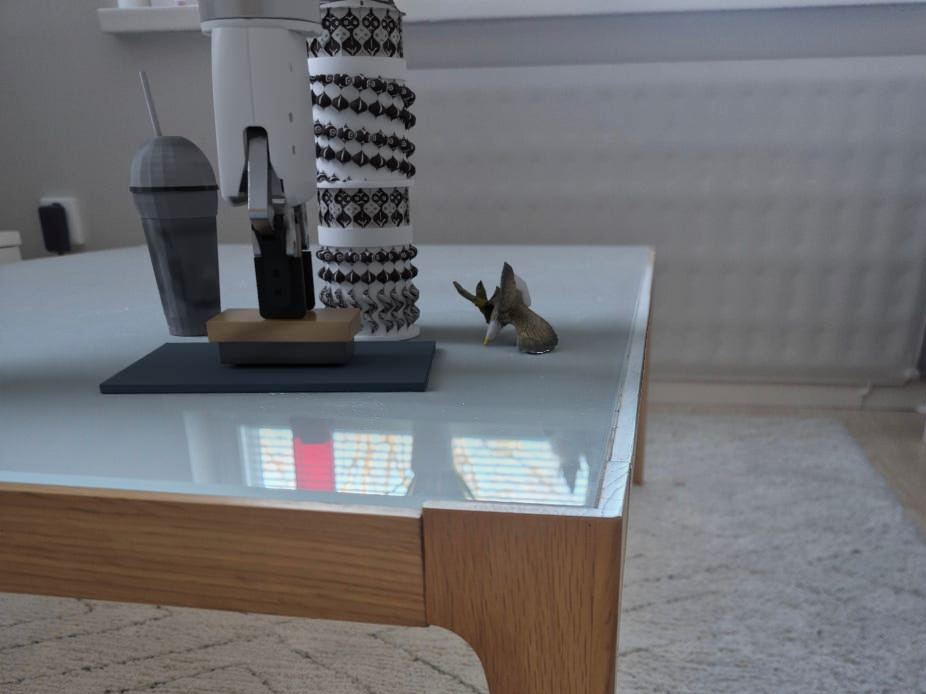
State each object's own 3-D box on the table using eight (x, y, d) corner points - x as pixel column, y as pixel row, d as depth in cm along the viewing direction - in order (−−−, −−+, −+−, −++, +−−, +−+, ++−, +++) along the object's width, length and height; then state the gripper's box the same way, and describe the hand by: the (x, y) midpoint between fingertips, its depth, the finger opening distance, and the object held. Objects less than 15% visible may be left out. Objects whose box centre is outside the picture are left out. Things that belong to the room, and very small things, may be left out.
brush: (211, 365, 67) (193, 227, 62) (232, 349, 72) (216, 220, 68) (352, 365, 66) (343, 227, 62) (362, 349, 72) (354, 220, 68)
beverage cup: (243, 334, 82) (210, 68, 73) (156, 341, 80) (111, 67, 71) (230, 322, 88) (199, 74, 79) (150, 327, 86) (107, 73, 77)
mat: (100, 393, 63) (98, 384, 63) (167, 350, 77) (165, 342, 76) (425, 391, 63) (424, 382, 63) (436, 347, 76) (435, 340, 76)
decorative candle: (303, 342, 79) (270, -18, 67) (337, 323, 87) (313, -1, 75) (409, 345, 78) (393, -23, 66) (433, 326, 86) (424, -5, 74)
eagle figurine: (432, 326, 79) (481, 321, 71) (467, 247, 78) (520, 233, 70) (504, 370, 82) (557, 369, 75) (537, 294, 82) (594, 286, 74)
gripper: (232, 23, 66) (261, 297, 75) (160, -11, 52) (206, 334, 60) (338, 22, 66) (355, 297, 75) (295, -11, 52) (322, 334, 60)
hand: (288, 311), depth 68 cm, fingers closed on brush, 3 cm apart
